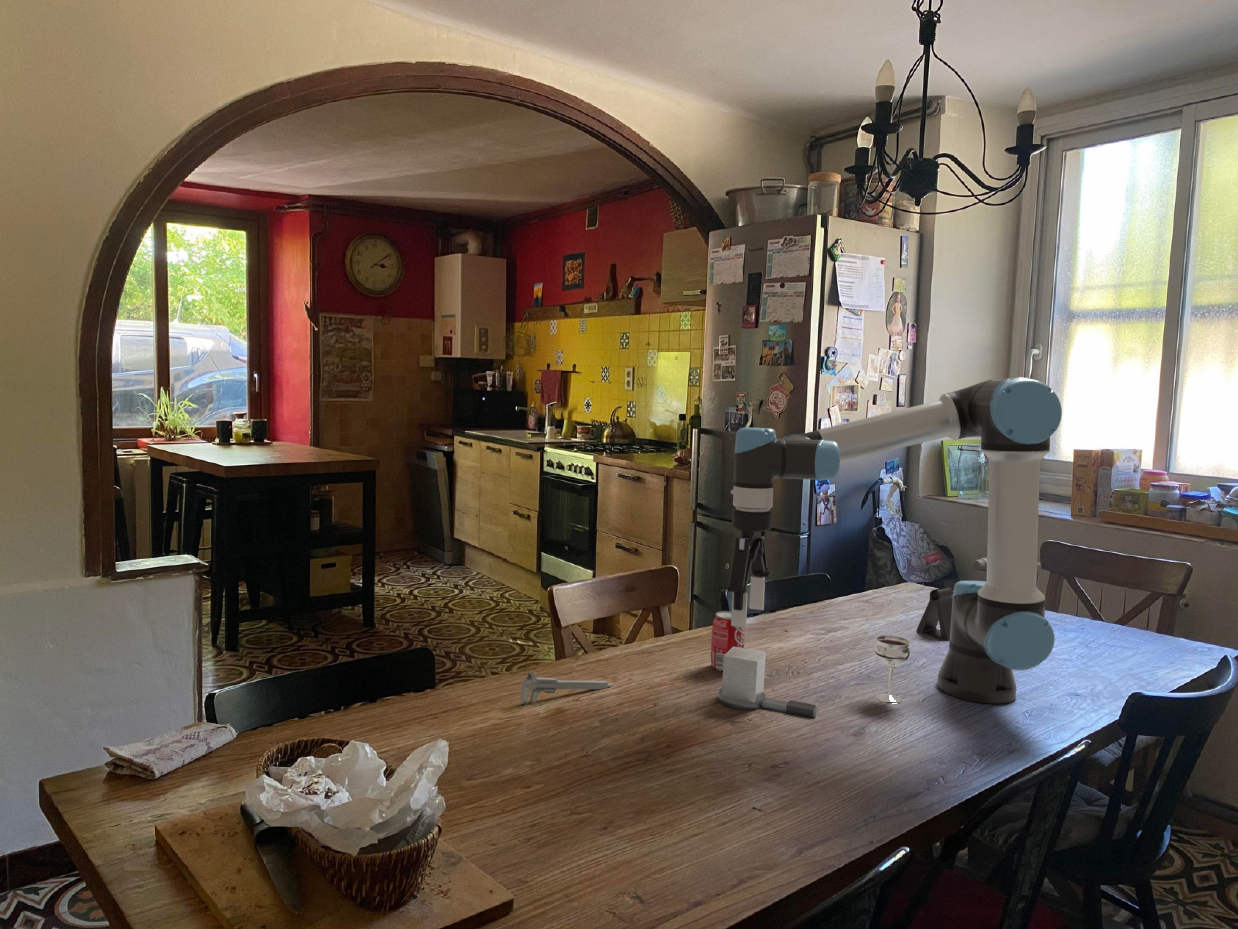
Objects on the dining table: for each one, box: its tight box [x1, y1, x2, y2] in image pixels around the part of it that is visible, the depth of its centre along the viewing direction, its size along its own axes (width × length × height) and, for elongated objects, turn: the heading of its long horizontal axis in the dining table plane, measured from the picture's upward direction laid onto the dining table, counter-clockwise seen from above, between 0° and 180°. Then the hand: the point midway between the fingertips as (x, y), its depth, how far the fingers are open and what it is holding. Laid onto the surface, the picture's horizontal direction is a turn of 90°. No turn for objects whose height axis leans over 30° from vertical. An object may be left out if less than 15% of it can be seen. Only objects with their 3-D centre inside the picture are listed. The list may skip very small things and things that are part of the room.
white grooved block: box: [721, 647, 767, 702], centre depth 163 cm, size 7×7×8 cm
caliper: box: [520, 671, 613, 706], centre depth 162 cm, size 20×1×6 cm, turn 125°
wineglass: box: [874, 634, 912, 703], centre depth 167 cm, size 7×7×12 cm
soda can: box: [710, 610, 746, 672], centre depth 181 cm, size 7×7×12 cm
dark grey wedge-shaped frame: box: [916, 586, 954, 642], centre depth 214 cm, size 9×6×12 cm, turn 36°
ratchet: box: [718, 687, 819, 719], centre depth 161 cm, size 19×9×6 cm, turn 67°
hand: (747, 617), depth 161 cm, fingers open, 13 cm apart
